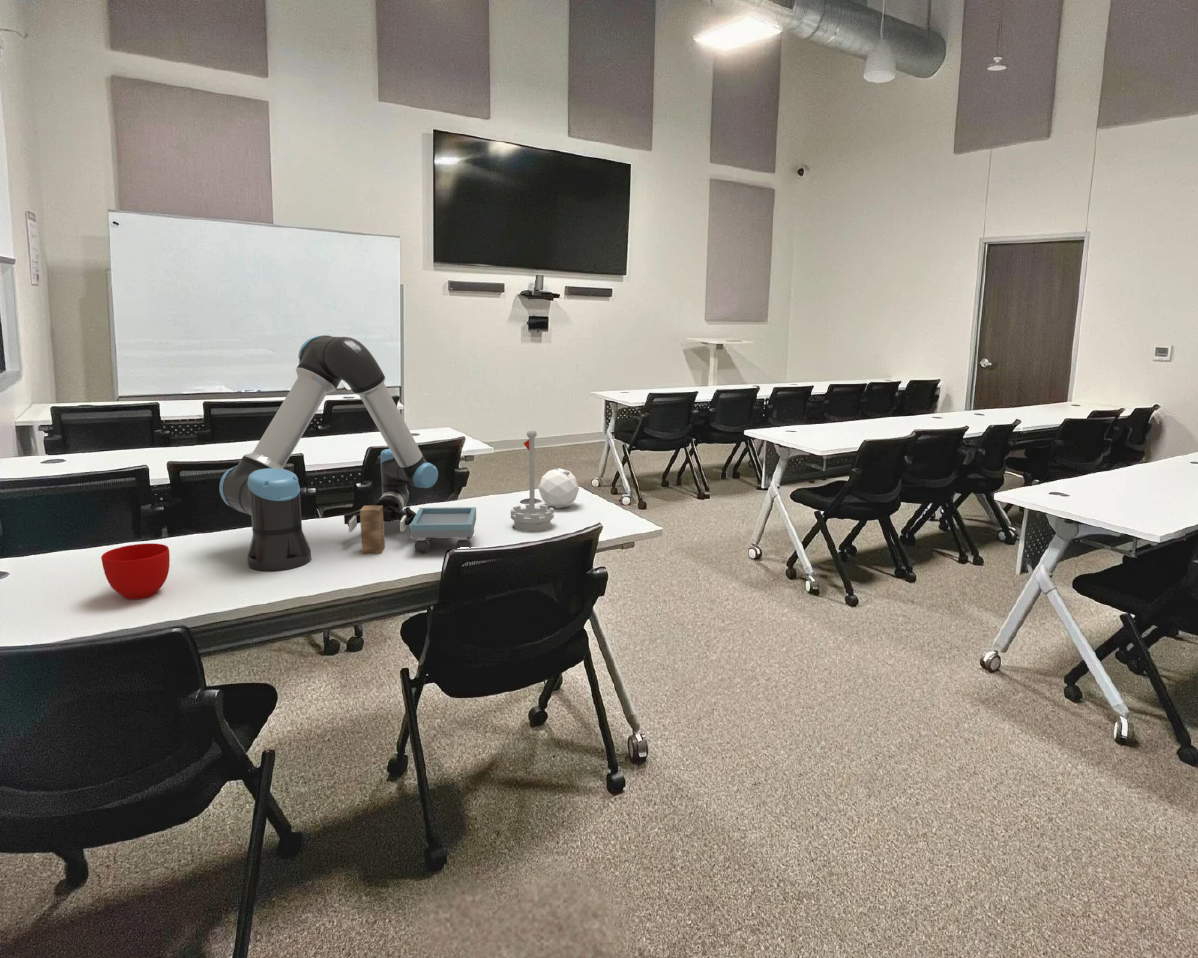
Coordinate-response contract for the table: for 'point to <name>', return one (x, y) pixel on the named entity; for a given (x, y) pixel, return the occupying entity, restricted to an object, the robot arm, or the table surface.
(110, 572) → the red bowl
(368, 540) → the walnut block
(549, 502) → the geodesic sphere
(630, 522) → the table surface
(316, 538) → the table surface
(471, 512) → the wheeled cart
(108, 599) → the table surface
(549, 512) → the flag stand
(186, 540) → the table surface
